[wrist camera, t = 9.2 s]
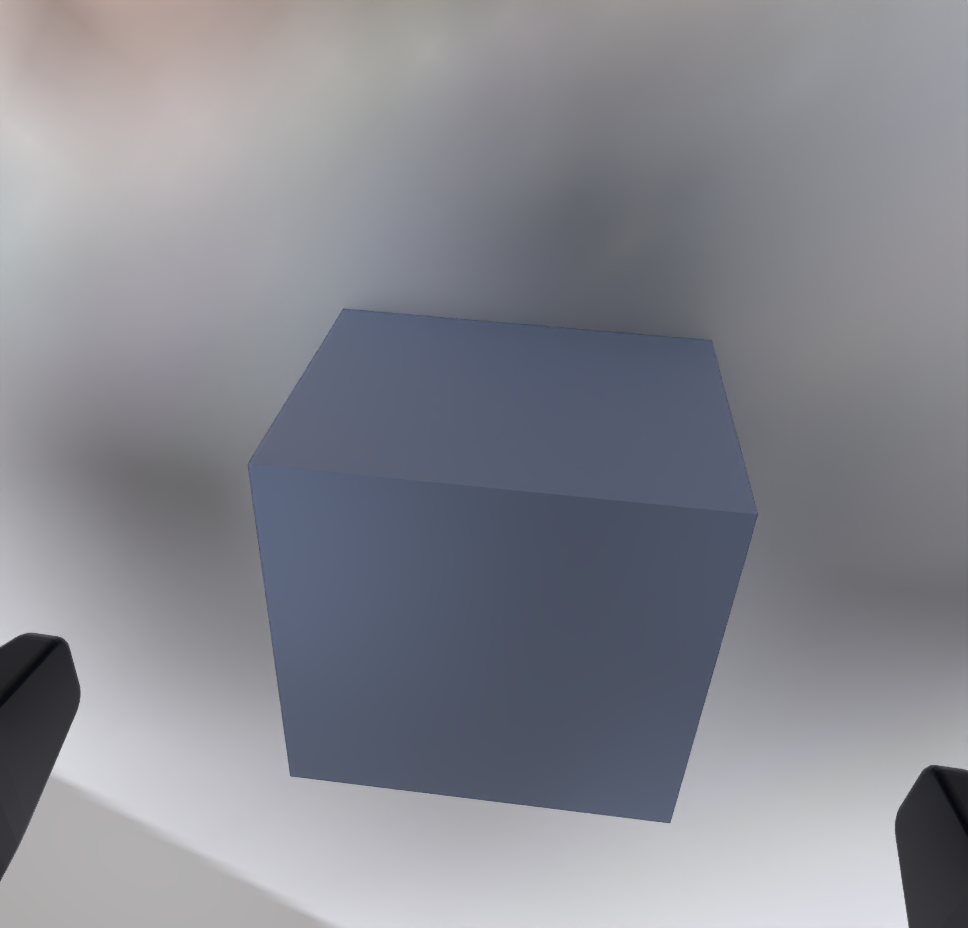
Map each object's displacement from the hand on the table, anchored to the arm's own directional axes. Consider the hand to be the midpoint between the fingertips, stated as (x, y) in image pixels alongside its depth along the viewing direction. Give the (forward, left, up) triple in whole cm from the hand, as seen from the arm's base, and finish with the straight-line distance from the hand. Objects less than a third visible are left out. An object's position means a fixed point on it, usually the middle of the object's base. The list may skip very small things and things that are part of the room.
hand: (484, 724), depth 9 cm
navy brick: (0, 0, -5) cm, 5 cm away
